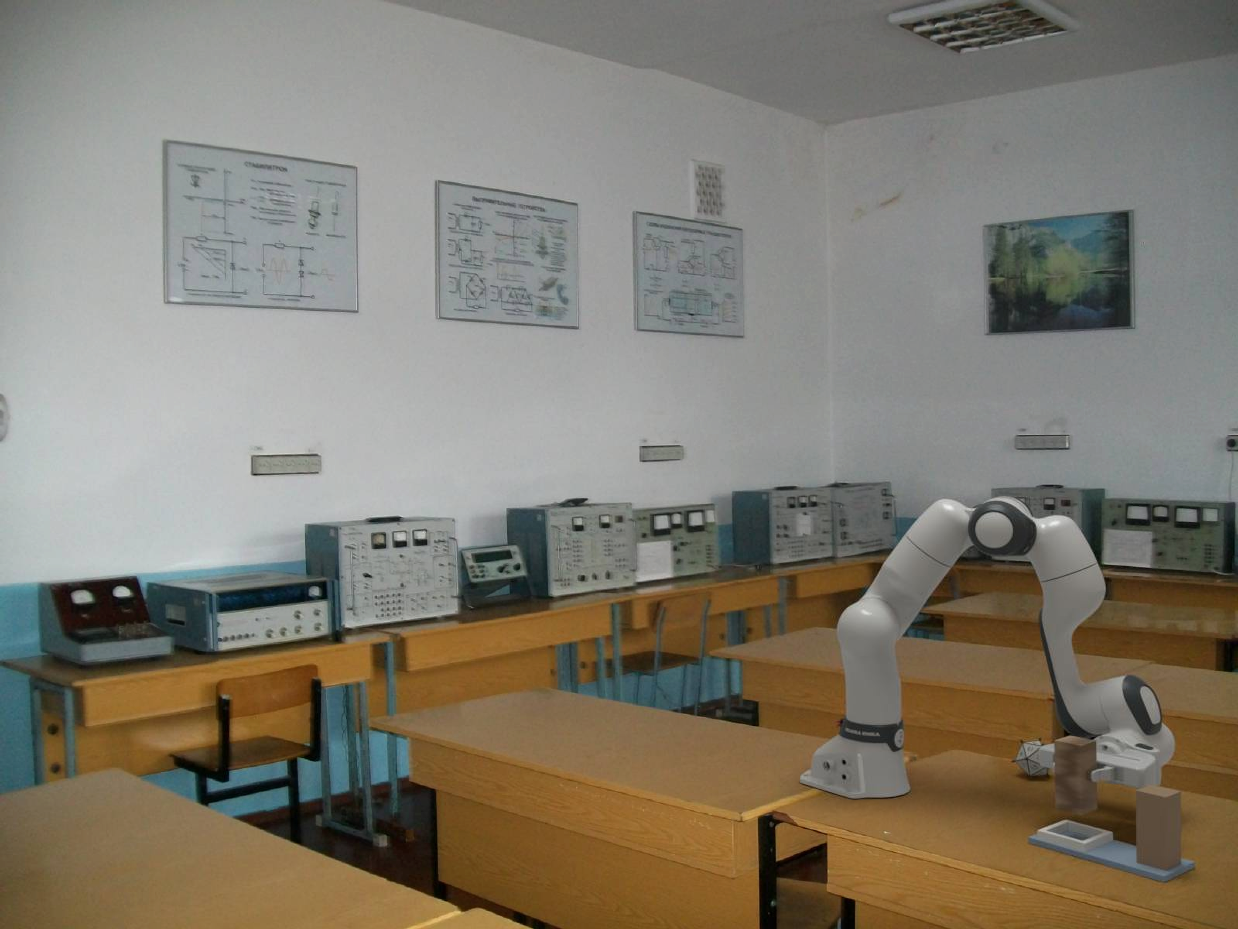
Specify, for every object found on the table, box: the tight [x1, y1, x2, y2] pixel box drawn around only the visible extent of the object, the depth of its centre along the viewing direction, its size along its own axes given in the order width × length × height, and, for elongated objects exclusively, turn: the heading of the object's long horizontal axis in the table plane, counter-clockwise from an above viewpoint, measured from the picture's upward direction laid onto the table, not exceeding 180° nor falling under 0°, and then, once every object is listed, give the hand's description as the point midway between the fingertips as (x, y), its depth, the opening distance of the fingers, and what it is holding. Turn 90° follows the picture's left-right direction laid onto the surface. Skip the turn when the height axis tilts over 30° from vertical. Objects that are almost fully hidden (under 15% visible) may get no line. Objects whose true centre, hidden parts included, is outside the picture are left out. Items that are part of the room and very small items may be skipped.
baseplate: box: [1027, 785, 1196, 883], centre depth 204 cm, size 24×10×13 cm, turn 38°
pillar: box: [1053, 735, 1098, 816], centre depth 208 cm, size 5×5×12 cm
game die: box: [1010, 736, 1051, 781], centre depth 250 cm, size 9×8×10 cm
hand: (1072, 772), depth 208 cm, fingers closed on pillar, 5 cm apart
